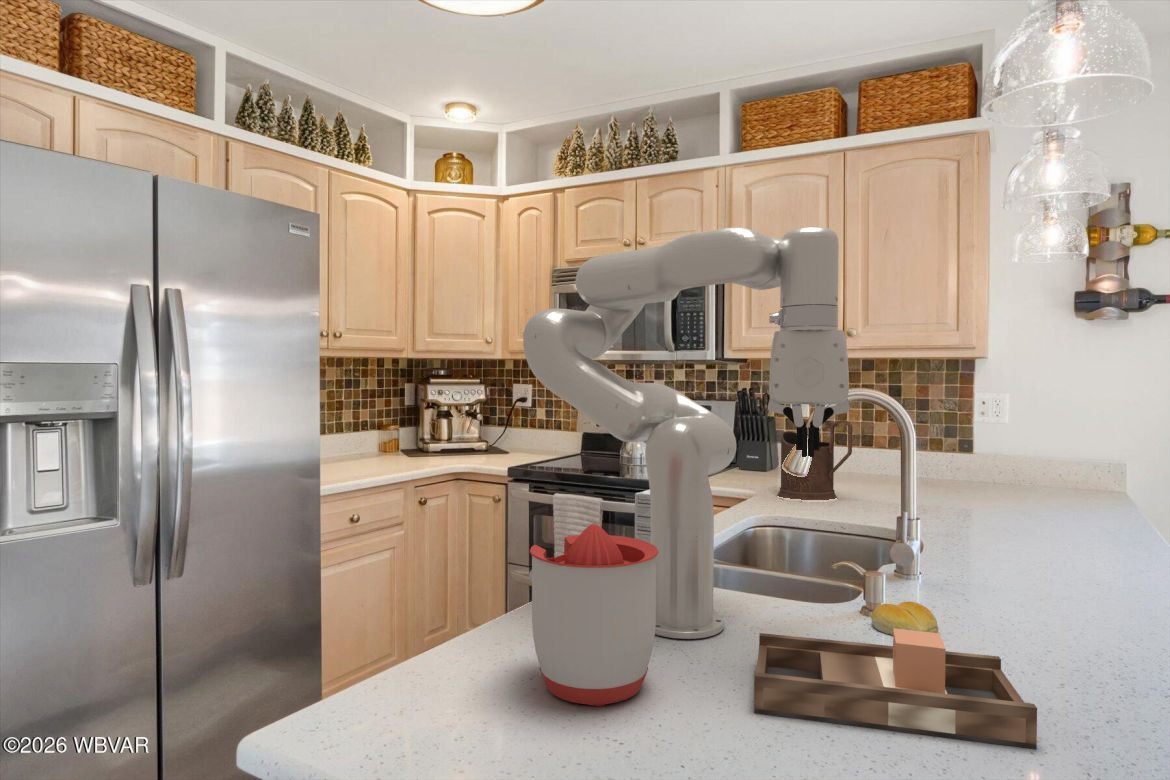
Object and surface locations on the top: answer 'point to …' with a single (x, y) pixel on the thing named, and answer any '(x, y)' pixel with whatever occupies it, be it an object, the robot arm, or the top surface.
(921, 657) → the block
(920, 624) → the bread roll
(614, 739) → the top surface
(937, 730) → the board
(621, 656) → the citrus juicer
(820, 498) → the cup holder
